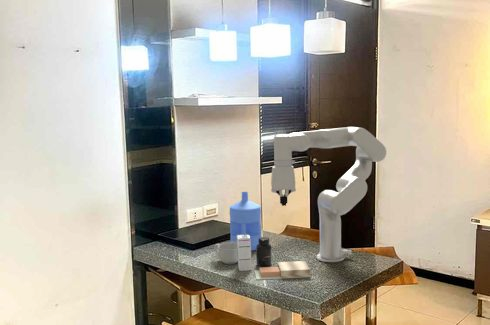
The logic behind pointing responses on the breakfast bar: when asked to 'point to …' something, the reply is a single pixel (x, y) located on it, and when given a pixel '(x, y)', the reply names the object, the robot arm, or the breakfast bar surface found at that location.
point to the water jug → (246, 220)
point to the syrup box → (244, 252)
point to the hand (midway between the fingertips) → (283, 205)
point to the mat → (258, 277)
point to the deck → (293, 269)
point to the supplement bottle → (263, 252)
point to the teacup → (227, 252)
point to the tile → (269, 271)
